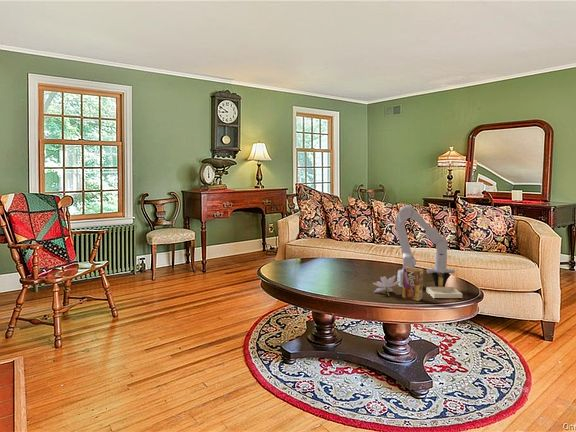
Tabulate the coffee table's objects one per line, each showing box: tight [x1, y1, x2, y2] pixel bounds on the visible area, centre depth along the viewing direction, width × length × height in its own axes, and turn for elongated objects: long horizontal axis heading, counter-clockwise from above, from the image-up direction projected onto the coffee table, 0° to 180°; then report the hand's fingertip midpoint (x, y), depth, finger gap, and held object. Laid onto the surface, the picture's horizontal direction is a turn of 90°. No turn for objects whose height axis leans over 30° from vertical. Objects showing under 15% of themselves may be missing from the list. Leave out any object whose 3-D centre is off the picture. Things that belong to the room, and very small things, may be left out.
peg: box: [438, 276, 443, 287], centre depth 227 cm, size 3×3×6 cm
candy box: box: [401, 267, 424, 302], centre depth 209 cm, size 9×4×15 cm, turn 47°
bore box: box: [425, 286, 463, 299], centre depth 216 cm, size 14×12×2 cm
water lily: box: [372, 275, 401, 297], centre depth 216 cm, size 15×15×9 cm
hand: (439, 286), depth 227 cm, fingers closed on peg, 3 cm apart
